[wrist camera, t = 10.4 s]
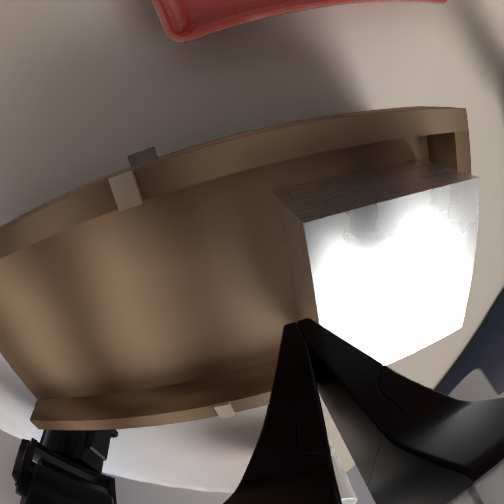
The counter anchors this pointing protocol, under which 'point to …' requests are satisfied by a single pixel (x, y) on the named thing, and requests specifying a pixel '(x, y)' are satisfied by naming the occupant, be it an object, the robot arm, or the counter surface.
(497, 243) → the counter surface
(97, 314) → the wooden tray
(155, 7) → the plant saucer
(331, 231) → the steel block
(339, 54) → the counter surface
